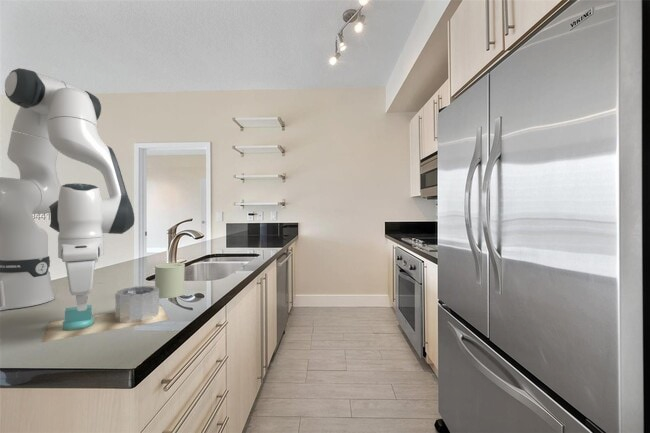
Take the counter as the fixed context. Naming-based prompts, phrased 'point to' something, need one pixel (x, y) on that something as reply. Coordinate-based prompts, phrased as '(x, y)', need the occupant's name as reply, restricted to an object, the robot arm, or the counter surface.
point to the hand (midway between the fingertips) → (82, 305)
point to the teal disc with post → (78, 319)
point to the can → (170, 279)
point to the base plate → (95, 326)
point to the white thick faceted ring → (137, 304)
